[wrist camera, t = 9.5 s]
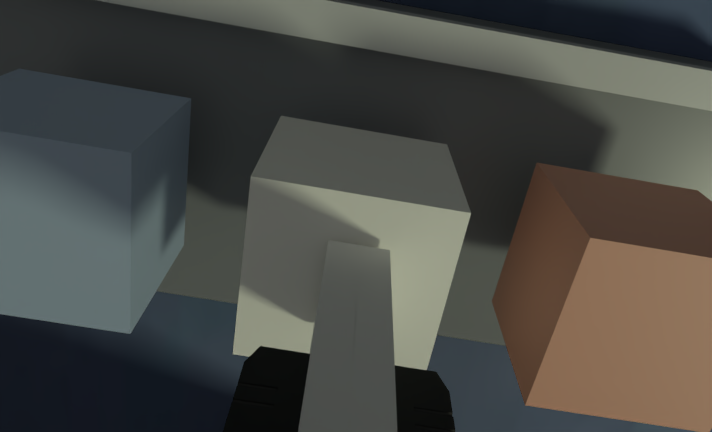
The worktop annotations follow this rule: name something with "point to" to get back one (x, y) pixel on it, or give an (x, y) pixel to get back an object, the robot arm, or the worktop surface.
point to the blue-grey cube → (88, 197)
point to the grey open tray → (378, 108)
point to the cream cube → (348, 231)
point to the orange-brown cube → (611, 298)
